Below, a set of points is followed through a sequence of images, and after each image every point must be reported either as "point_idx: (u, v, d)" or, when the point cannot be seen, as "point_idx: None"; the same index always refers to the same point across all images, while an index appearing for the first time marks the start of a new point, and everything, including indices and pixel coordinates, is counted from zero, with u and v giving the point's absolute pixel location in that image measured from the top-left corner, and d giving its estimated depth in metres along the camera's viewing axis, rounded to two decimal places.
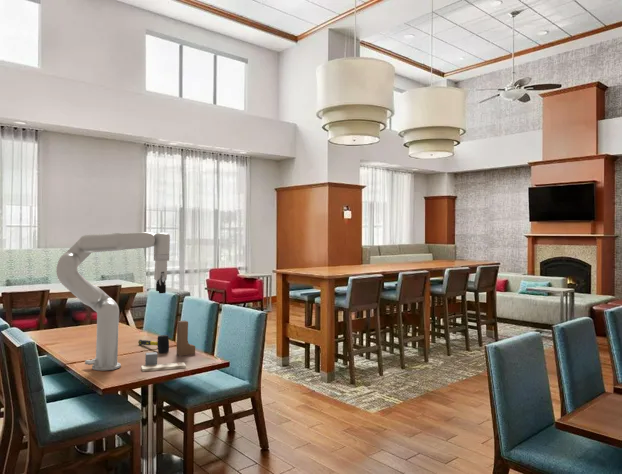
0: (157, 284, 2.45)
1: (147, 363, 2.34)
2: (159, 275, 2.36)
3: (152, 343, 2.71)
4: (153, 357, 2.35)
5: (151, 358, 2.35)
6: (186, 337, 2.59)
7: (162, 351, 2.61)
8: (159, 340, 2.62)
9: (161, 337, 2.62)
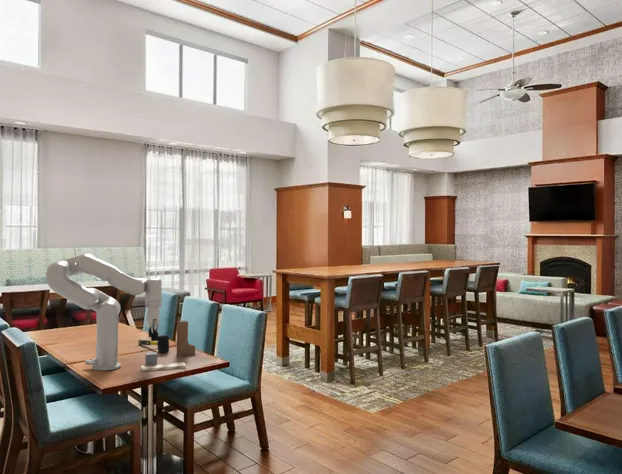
0: (150, 330, 2.41)
1: (147, 363, 2.34)
2: (151, 323, 2.32)
3: (152, 343, 2.71)
4: (153, 357, 2.35)
5: (151, 358, 2.35)
6: (186, 337, 2.59)
7: (162, 351, 2.62)
8: (159, 340, 2.62)
9: (161, 337, 2.62)
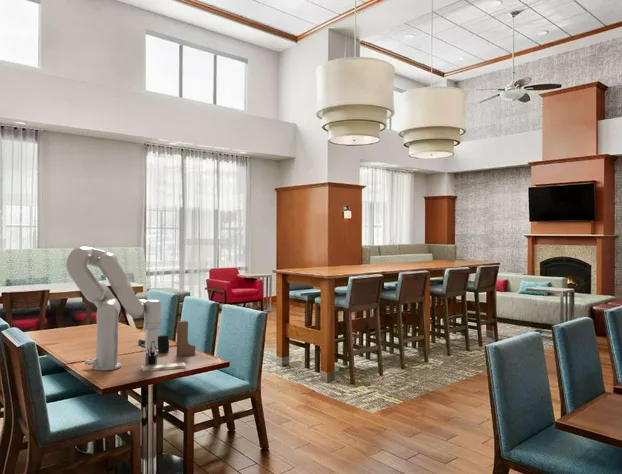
0: None
1: (147, 363, 2.34)
2: (149, 347, 2.32)
3: None
4: None
5: None
6: (186, 337, 2.59)
7: (162, 351, 2.62)
8: (159, 340, 2.62)
9: (161, 337, 2.63)
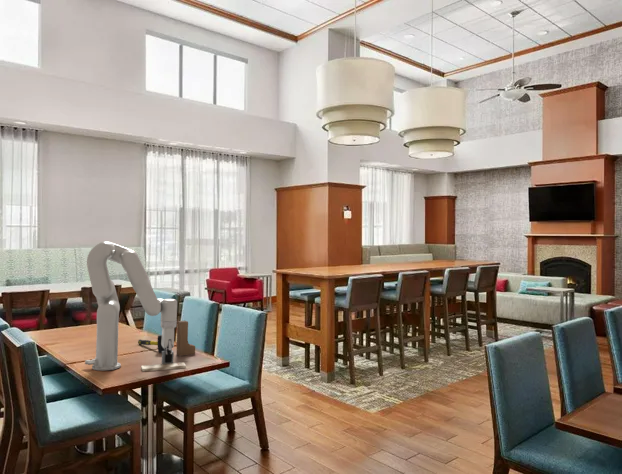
0: None
1: (164, 361, 2.37)
2: None
3: (152, 343, 2.71)
4: None
5: None
6: (186, 337, 2.59)
7: None
8: (159, 340, 2.63)
9: (161, 337, 2.63)
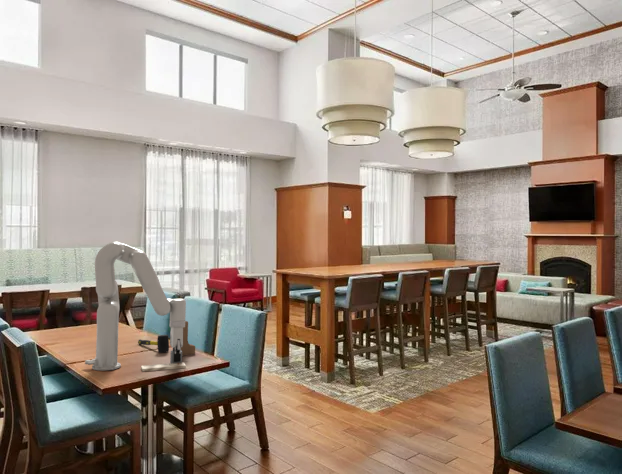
0: None
1: (172, 360, 2.39)
2: None
3: (152, 343, 2.71)
4: None
5: None
6: (186, 337, 2.59)
7: (162, 351, 2.62)
8: (159, 340, 2.63)
9: (161, 337, 2.63)
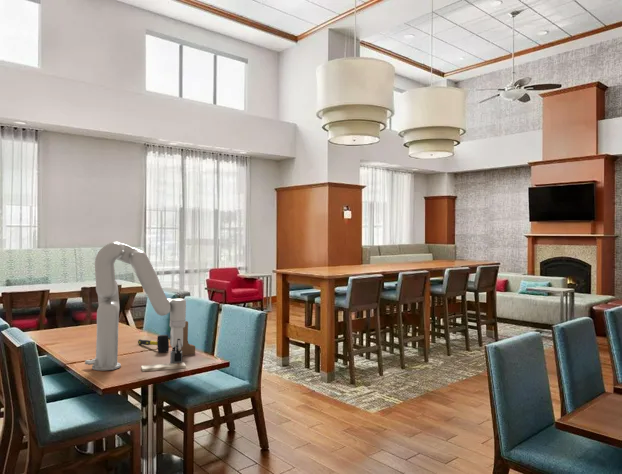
0: None
1: (172, 361, 2.39)
2: (175, 344, 2.37)
3: (152, 343, 2.72)
4: None
5: None
6: (186, 337, 2.59)
7: (162, 351, 2.62)
8: (159, 340, 2.63)
9: (161, 337, 2.63)
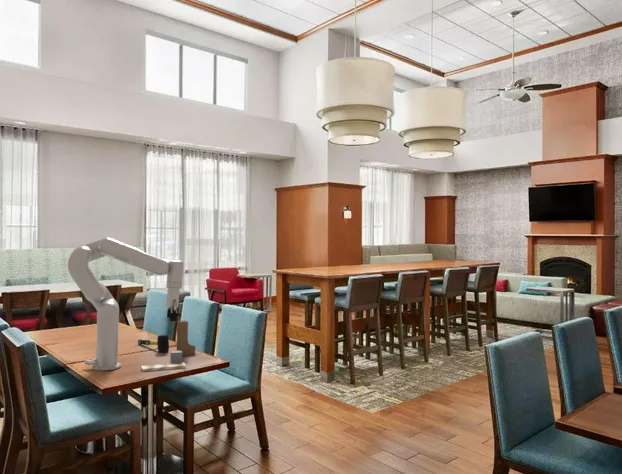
0: (168, 311, 2.46)
1: (172, 361, 2.39)
2: (171, 303, 2.37)
3: (152, 343, 2.72)
4: (178, 356, 2.40)
5: (176, 356, 2.40)
6: (186, 337, 2.59)
7: (162, 351, 2.62)
8: (159, 340, 2.63)
9: (161, 337, 2.63)
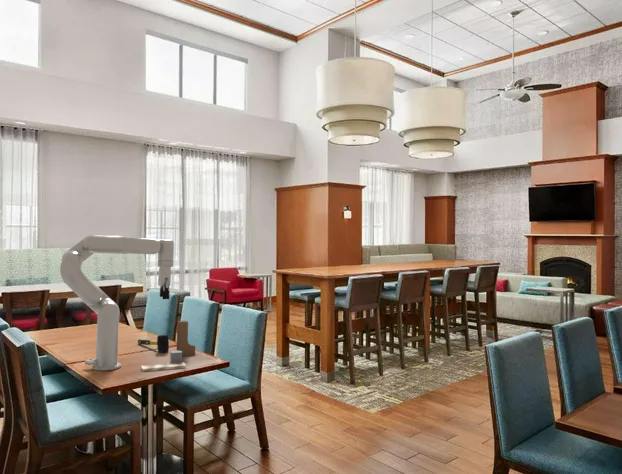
0: (161, 290, 2.48)
1: (172, 361, 2.39)
2: (163, 281, 2.39)
3: (152, 343, 2.72)
4: (178, 356, 2.40)
5: (176, 356, 2.40)
6: (186, 337, 2.59)
7: (162, 350, 2.63)
8: (159, 340, 2.63)
9: (161, 337, 2.63)
